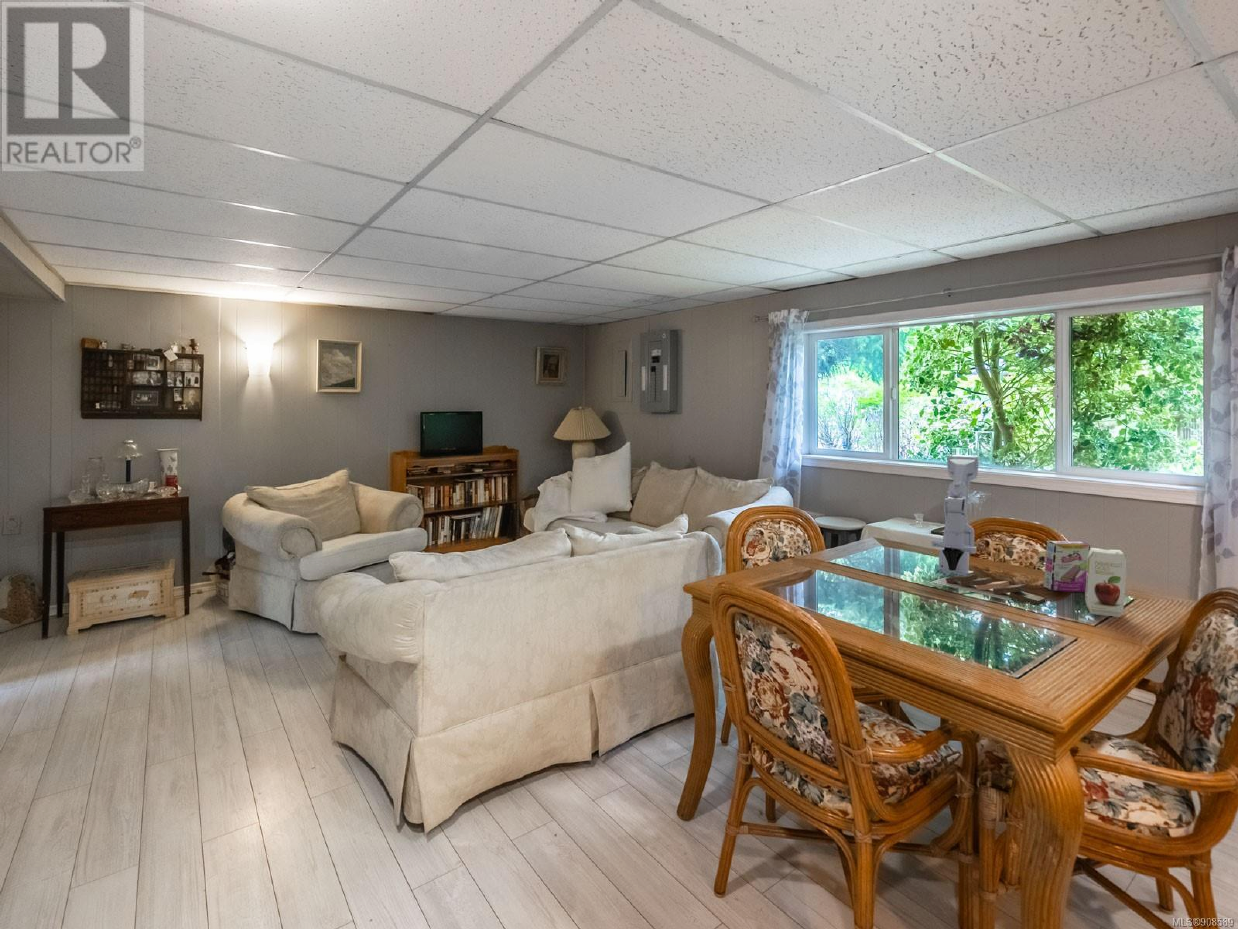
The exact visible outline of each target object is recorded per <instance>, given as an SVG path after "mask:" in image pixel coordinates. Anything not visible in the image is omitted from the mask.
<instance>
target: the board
mask: <svg viewBox="0 0 1238 929" xmlns="http://www.w3.org/2000/svg"><path fill="white" fill-rule="evenodd" d="M949 577H950V576H946V577H942V578H939V579H936V580H933V581H931V583H934V584H937V585H938V584H939V585H942V586H946V587H951V588H955V589H959V590H962V591H963V590H964V591H967V592H972V593H975V594H979V595H983V596H988V597H992V598H997V599H1001V600H1005V601H1010V600H1012V599H1013V598H1009V596H1010V593H1001V594H994V592H993V589H987V590H977V587H976V585H975V586H961V583H960V582H953V583H947V582H946V578H949ZM1013 600H1014V599H1013Z"/></svg>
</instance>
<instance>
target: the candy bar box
mask: <svg viewBox="0 0 1238 929" xmlns="http://www.w3.org/2000/svg"><path fill="white" fill-rule="evenodd" d="M1090 549H1091V544H1089V543H1086V542H1084V541H1079V540H1078V541H1077V540H1075V541H1073V540H1072V541H1071V540H1070V541H1069V540H1047V541H1046V550H1045V564H1044V578H1043V587H1044V588H1046V589H1048V590H1050V591H1053V592H1054V591H1056V592H1057V591H1060V592H1067V593H1085V591H1086V574H1087V559H1088V554H1089V551H1090Z"/></svg>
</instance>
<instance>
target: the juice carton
mask: <svg viewBox="0 0 1238 929" xmlns="http://www.w3.org/2000/svg"><path fill="white" fill-rule="evenodd" d="M1126 578H1127V559H1126V554H1125V553H1124V552H1123V551H1122V550H1120V549H1103V548H1097V547H1090V551H1089V554H1088V559H1087V574H1086V591H1085V592H1084V593H1085V594H1084V595H1085V597H1084V600H1085V604H1086V609H1088V612H1089V613H1090V614H1091V615H1097V616H1105V617H1110V616H1114V617H1113V618H1119V617H1120V618H1121V615H1122V613H1123V611H1124V606H1125V605H1124V604H1125V594H1126V593H1125V592H1126V580H1127V579H1126Z"/></svg>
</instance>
